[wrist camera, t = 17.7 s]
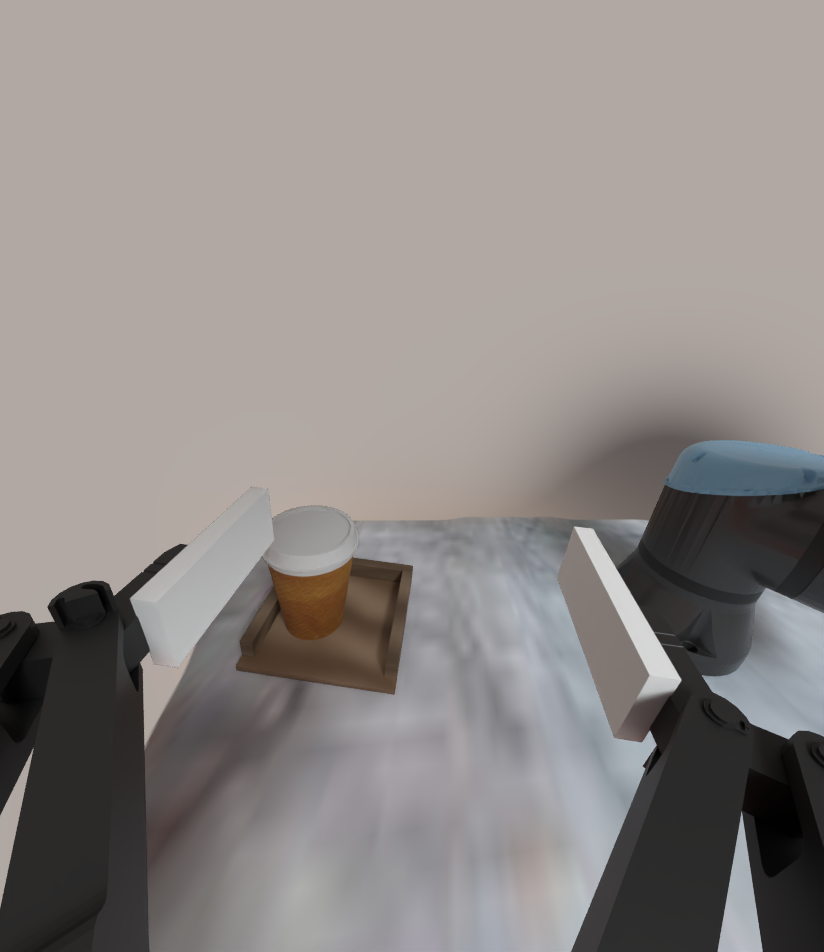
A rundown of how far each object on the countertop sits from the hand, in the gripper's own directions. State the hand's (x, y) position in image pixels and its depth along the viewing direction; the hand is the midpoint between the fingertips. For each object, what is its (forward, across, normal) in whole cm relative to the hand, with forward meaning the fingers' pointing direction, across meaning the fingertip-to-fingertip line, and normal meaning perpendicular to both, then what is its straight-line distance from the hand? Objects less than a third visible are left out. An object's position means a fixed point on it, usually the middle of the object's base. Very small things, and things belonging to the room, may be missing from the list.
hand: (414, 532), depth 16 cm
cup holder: (+16, -9, -24) cm, 30 cm away
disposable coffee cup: (+15, -11, -24) cm, 30 cm away
